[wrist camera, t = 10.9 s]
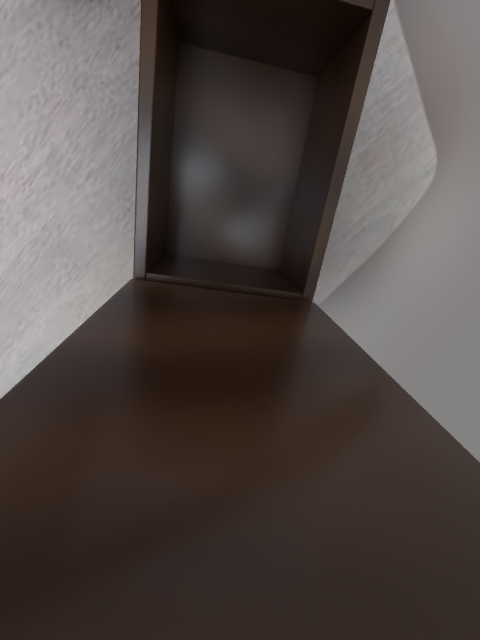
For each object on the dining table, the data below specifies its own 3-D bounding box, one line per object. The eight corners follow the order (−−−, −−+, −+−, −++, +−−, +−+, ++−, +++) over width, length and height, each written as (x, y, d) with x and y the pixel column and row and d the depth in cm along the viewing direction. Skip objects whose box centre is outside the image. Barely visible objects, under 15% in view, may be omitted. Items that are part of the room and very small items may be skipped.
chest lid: (-623, 965, 2) (-252, 1012, 4) (792, 762, 3) (559, 862, 5) (131, 278, 18) (129, 349, 20) (315, 302, 20) (298, 365, 21)
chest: (170, 31, 21) (143, -83, 13) (327, 71, 22) (392, -7, 14) (157, 259, 27) (132, 283, 18) (282, 277, 28) (311, 306, 20)
